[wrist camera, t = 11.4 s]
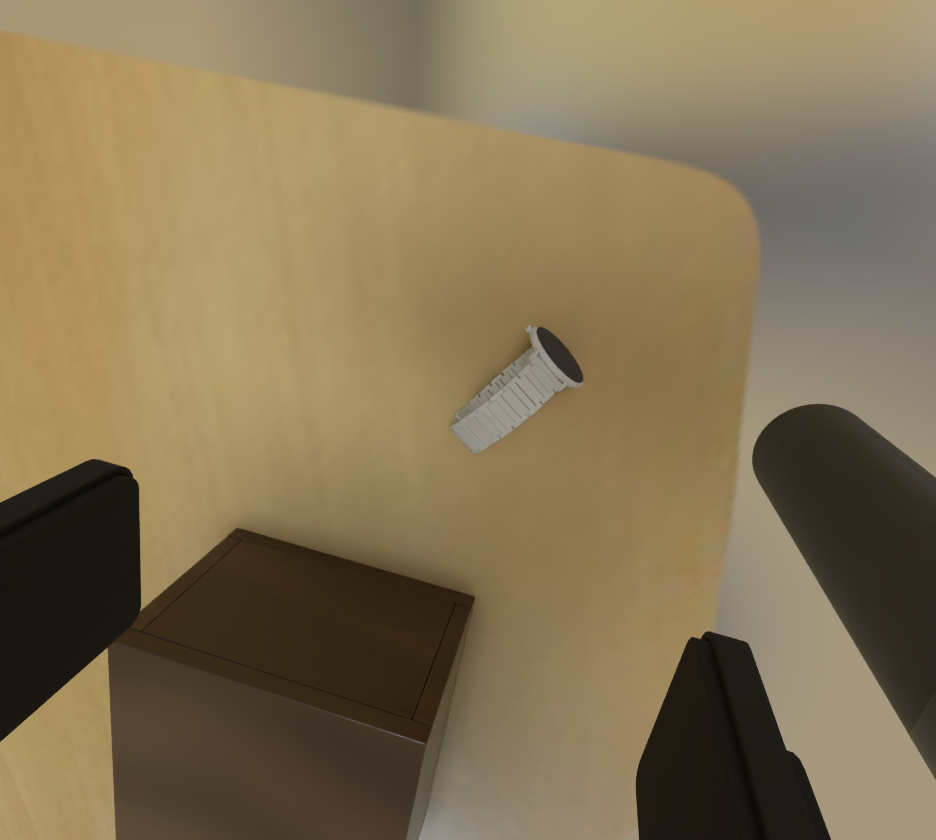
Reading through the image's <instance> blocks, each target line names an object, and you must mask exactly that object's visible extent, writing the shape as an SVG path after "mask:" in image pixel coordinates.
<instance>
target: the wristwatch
mask: <svg viewBox="0 0 936 840" xmlns="http://www.w3.org/2000/svg"><path fill="white" fill-rule="evenodd" d="M525 330H526V332H528V333H529V335H530V341H531V344H532V347H531V348H530V349H528V350H527V351H526V352H525V353H523V354H522V355H521V356H520V357H518V358H517V359H516V360H515V361H514V362H513V363H511V364H510V365H509V366H508V367H507V368H506V369H504V370H503V371H502V372H501V373H502V374H503V375H502V374H501V373H500V374H499V375H498V376H496V377H495V378H494V379H493V380H492V381H491V382H490V385H491V386H490V385H489V384H488V385H487V386H485V387H484V388H483V389H482V390H481V391H480V392H479V393H478V395H479V396H480V397H479V396H478V395H476V396H475V397H474V398H473V399H472V400H471V401H470V402H469V403H467V405H466V406H465V407H464V408H461V409H459V410H458V411H457V412H456V414H455V417H456V418H455V419H454V420H453V421H452V423H451V425H450V426H449V428H450V429H451V430H452V431H453V432H454V433H455V435H456V436H457V437H458V438H459V439H460V440H461V441H462V442H463V443H464V444H465V446H466V447H467V448H468V449H469V450H470V451H471V452H472V453H473V454H476V453H478V452H480V451H482V450H484V449H485V448H487V447H488V446H490V445H492V444H494V443H495V442H497V441H499V440H500V439H501V438H503V437H504V436H506V435H507V434H509V433H510V432H511V431H512V430H513V429H515V428H516V427H518V426H519V425H520V424H522V423H523V422H524V421H525V420H526V419H527V418H528V417H530V416H531V415H532V414H534V413H535V412H536V411H537V410H538V409H539V408H540V407H541V406H542V404H544V403H546V402H547V401H548V400H549V399H550V398H551V397H552V396H553V395H554V393H555V392H556V391H557V392H558V393H559V392H560V391H561V390H563V389H564V388H565V387H566V386H568V387H570V388H572V389H577V388H579V387H581V386H582V385H583V374H582V371H581V369H580V367H579V365H578V364H577V362H576V360H575V359H574V357H573V356H572V354H571V353H570V352H569V350H568V349H567V348H566V347H565V346H564V344H563V343H562V342H561V341H560V340H559V339H558V338H557V337H556V336H555V335H553V334H552V333H551V332H550V331H548V330H547V329H545V328H542V327H538V326H537V327H534V328H532V326H531V325H529V326H528V327H526V328H525ZM509 375H510V376H511V377H512V378H513V379H512V378H511V377H510V376H509ZM500 379H501V380H502V382H503V383H504V384H505V385H504V384H503V383H502V382H501V380H500ZM495 383H496V384H497V385H498V386H499V387H500V388H499V387H498V386H497V385H496V384H495ZM488 390H489V391H490V392H489V391H488ZM527 416H528V417H527Z"/></svg>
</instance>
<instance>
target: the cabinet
mask: <svg viewBox="0 0 936 840" xmlns="http://www.w3.org/2000/svg"><path fill="white" fill-rule="evenodd" d="M474 600H475V598H474V597H471V596H468V595H465V594H461V593H458V592H454V591H451V590H447V589H444V588H440V587H437V586H434V585H430V584H427V583H423V582H420V581H416V580H413V579H410V578H406V577H403V576H399V575H396V574H392V573H389V572H385V571H382V570H379V569H375V568H372V567H368V566H365V565H361V564H358V563H355V562H351V561H348V560H344V559H341V558H337V557H334V556H330V555H327V554H324V553H320V552H317V551H313V550H310V549H306V548H303V547H300V546H296V545H293V544H289V543H286V542H282V541H279V540H275V539H272V538H269V537H265V536H262V535H258V534H255V533H251V532H248V531H245V530H241V529H238V528H237V529H235V530H234V531H233V532H232V533H230V534H229V535H228V537H226V538H225V539H224V540H223V541H222V542H220V543H219V544H218V545H217V546H216V547H215V548H213V549H212V550H211V551H210V552H209V553H208V554H206V555H205V556H204V557H203V558H202V559H201V560H199V561H198V562H197V563H196V564H195V565H194V566H192V567H191V568H190V569H189V570H188V571H187V572H185V573H184V574H183V575H182V576H181V577H180V578H178V579H177V580H176V581H175V582H174V583H173V584H171V585H170V586H169V587H168V588H167V589H166V590H164V591H163V592H162V593H161V594H160V595H159V596H157V597H156V598H155V599H154V600H153V601H152V602H151V603H149V604H148V605H147V606H146V607H145V608H144V609H142V610H141V611H140V612H139V615H138V617H137V619H136V620H135V622H134V623H133V625H132V626H131V627H130V628H129V629H128V630H126V631H125V632H124V633H123V634H122V635H121V636H120V637H119V638H117V639H116V640H115V641H114V642H113V643H112V644H111V645H109V646H108V665H109V688H110V711H111V735H112V758H113V781H114V804H115V828H116V840H418V839H419V835H420V832H421V829H422V825H423V822H424V818H425V814H426V810H427V805H428V801H429V797H430V792H431V788H432V783H433V779H434V775H435V770H436V766H437V762H438V757H439V753H440V748H441V744H442V740H443V735H444V731H445V727H446V722H447V718H448V714H449V709H450V705H451V700H452V696H453V692H454V687H455V683H456V679H457V674H458V670H459V666H460V661H461V657H462V652H463V648H464V644H465V639H466V635H467V631H468V626H469V622H470V618H471V613H472V609H473V604H474Z"/></svg>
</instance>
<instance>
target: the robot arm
mask: <svg viewBox="0 0 936 840" xmlns="http://www.w3.org/2000/svg"><path fill="white" fill-rule="evenodd" d="M140 609H141V575H140V522H139V486H138V483H137V481H136V480H135V479H133V475H132V473H131V471H130V470H129V469H127V468H126V467H123V466H119V465H116V464H112V463H108V462H105V461H101V460H97V459H92V460H88V461H86V462H84V463H82V464H79V465H77V466H75V467H73V468H71V469H69V470H67V471H65V472H63V473H61V474H59V475H57V476H55V477H52V478H50V479H48V480H46V481H44V482H42V483H40V484H38V485H36V486H34V487H32V488H30V489H28V490H26V491H23V492H21V493H19V494H17V495H15V496H13V497H11V498H9V499H7V500H5V501H3V502H1V503H0V742H1V741H2V740H3V739H4V738H5V737H6V736H7V735H9V734H10V733H11V732H12V731H13V730H14V729H15V728H17V727H18V726H19V725H20V724H21V723H22V722H23V721H24V720H26V719H27V718H28V717H29V716H30V715H31V714H32V713H34V712H35V711H36V710H37V709H38V708H39V707H40V706H41V705H43V704H44V703H45V702H46V701H47V700H48V699H49V698H51V697H52V696H53V695H54V694H55V693H56V692H57V691H58V690H60V689H61V688H62V687H63V686H64V685H65V684H66V683H68V682H69V681H70V680H71V679H72V678H73V677H74V676H75V675H77V674H78V673H79V672H80V671H81V670H82V669H83V668H85V667H86V666H87V665H88V664H89V663H90V662H91V661H92V660H94V659H95V658H96V657H97V656H98V655H99V654H100V653H102V652H103V651H104V650H105V649H106V648H107V647H108V646H109V645H111V644H112V643H113V642H114V641H115V640H116V639H117V638H119V637H120V636H121V635H122V634H123V633H124V632H125V631H126V630H128V629H129V628H130V627H131V626H132V625H133V623H134V622H135V620H136V619H137V617H138V615H139V612H140ZM636 799H637V814H638V829H639V840H831V838H830V836H829V833H828V830H827V828H826V825H825V822H824V820H823V817H822V814H821V812H820V809H819V806H818V803H817V801H816V798H815V795H814V793H813V790H812V787H811V785H810V782H809V779H808V777H807V774H806V772H805V769H804V767H803V765H802V763H801V761H800V759H799V758H798V757H797V756H796V755H795V754H794V753H793V752H790V751H787V750H786V748H785V745H784V742H783V739H782V736H781V734H780V731H779V728H778V725H777V723H776V719H775V716H774V714H773V711H772V708H771V705H770V703H769V699H768V697H767V694H766V691H765V688H764V685H763V682H762V680H761V677H760V674H759V671H758V668H757V665H756V662H755V660H754V657H753V654H752V651H751V648H750V647H749V645H748V643H746V642H744V641H741V640H738V639H734V638H731V637H727V636H723V635H720V634H716V633H713V632H709V631H708V632H705V633H704V635H703V636H702V638H701V639H698V638H694V637H691V638H690V639H689V640H688V642H687V644H686V647H685V649H684V652H683V654H682V657H681V659H680V662H679V664H678V667H677V669H676V672H675V674H674V677H673V679H672V682H671V684H670V687H669V689H668V692H667V694H666V697H665V699H664V702H663V704H662V707H661V709H660V712H659V714H658V717H657V719H656V722H655V724H654V727H653V729H652V732H651V734H650V737H649V739H648V742H647V744H646V747H645V749H644V752H643V754H642V757H641V759H640V762H639V765H638V770H637V776H636Z"/></svg>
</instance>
